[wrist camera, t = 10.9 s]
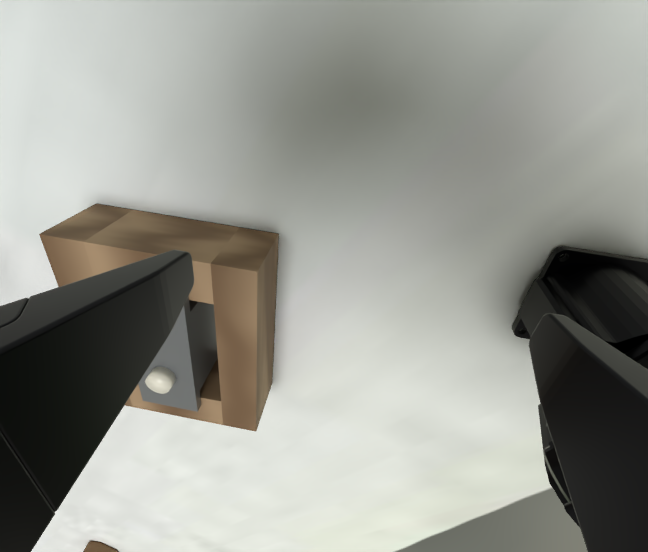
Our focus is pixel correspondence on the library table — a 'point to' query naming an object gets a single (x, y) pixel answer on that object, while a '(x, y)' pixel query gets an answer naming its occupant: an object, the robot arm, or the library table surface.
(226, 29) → the library table surface
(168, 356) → the block
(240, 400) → the pocket plate
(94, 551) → the wooden block set
